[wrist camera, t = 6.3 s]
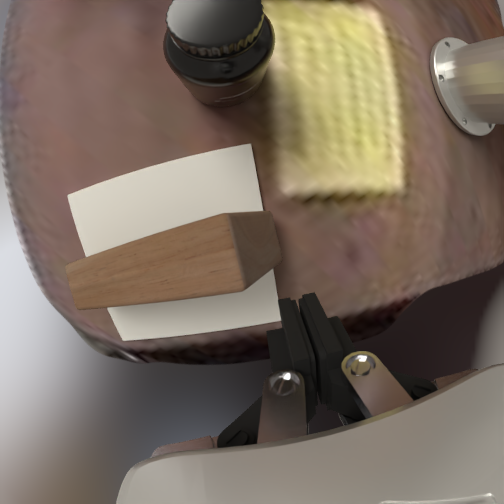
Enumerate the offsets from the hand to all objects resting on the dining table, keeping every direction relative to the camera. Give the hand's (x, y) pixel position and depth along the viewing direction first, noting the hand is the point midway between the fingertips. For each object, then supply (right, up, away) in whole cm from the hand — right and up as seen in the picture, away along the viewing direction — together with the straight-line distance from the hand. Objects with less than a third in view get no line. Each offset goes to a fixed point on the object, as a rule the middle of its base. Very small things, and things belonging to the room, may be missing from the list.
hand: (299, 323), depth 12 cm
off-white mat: (-10, +3, +14) cm, 17 cm away
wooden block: (-1, +4, +7) cm, 8 cm away
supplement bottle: (-4, +19, +8) cm, 21 cm away
